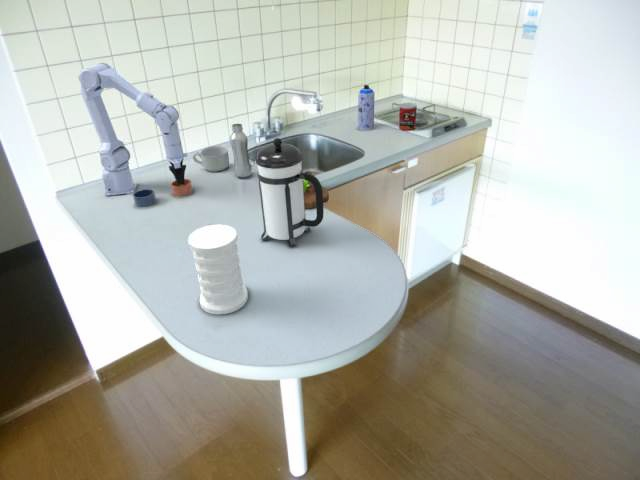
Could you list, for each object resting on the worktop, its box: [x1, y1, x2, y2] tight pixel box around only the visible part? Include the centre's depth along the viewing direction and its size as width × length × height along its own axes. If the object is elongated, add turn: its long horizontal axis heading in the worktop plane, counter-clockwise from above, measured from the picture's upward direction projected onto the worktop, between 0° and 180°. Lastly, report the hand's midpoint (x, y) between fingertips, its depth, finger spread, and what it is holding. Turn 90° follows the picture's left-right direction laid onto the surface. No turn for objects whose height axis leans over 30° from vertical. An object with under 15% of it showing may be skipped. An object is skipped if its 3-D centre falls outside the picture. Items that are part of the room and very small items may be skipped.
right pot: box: [170, 178, 194, 197], centre depth 167 cm, size 7×7×4 cm
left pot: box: [132, 188, 158, 208], centre depth 161 cm, size 7×7×4 cm
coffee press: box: [254, 137, 325, 248], centre depth 131 cm, size 17×16×30 cm
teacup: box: [192, 145, 230, 173], centre depth 184 cm, size 14×11×8 cm
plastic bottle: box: [229, 123, 253, 178], centre depth 174 cm, size 6×7×20 cm
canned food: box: [398, 102, 418, 132], centre depth 218 cm, size 8×8×11 cm
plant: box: [303, 170, 330, 210], centre depth 158 cm, size 20×20×11 cm
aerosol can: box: [357, 84, 376, 132], centre depth 218 cm, size 8×8×20 cm
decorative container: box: [187, 223, 249, 316], centre depth 109 cm, size 12×12×18 cm
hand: (180, 180), depth 166 cm, fingers open, 7 cm apart
